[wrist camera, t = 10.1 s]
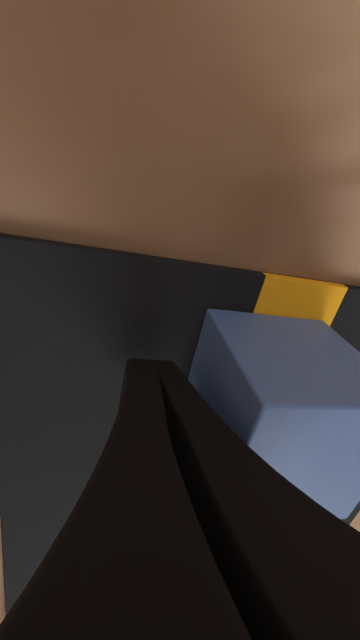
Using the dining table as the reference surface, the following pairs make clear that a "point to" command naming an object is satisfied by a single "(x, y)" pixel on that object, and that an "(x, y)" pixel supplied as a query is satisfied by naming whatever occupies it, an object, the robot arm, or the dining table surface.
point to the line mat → (104, 362)
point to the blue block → (287, 398)
